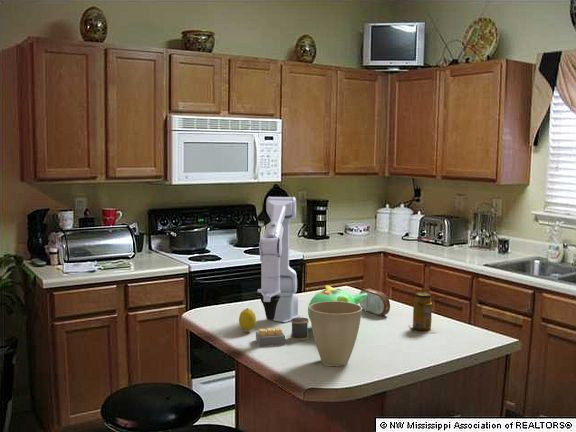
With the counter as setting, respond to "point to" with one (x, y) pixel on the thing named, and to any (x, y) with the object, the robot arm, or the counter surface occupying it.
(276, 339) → the breaker strip
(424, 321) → the condiment
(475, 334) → the counter surface
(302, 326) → the cord spool
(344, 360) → the plant pot
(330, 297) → the green toy teapot
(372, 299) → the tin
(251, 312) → the lemon
